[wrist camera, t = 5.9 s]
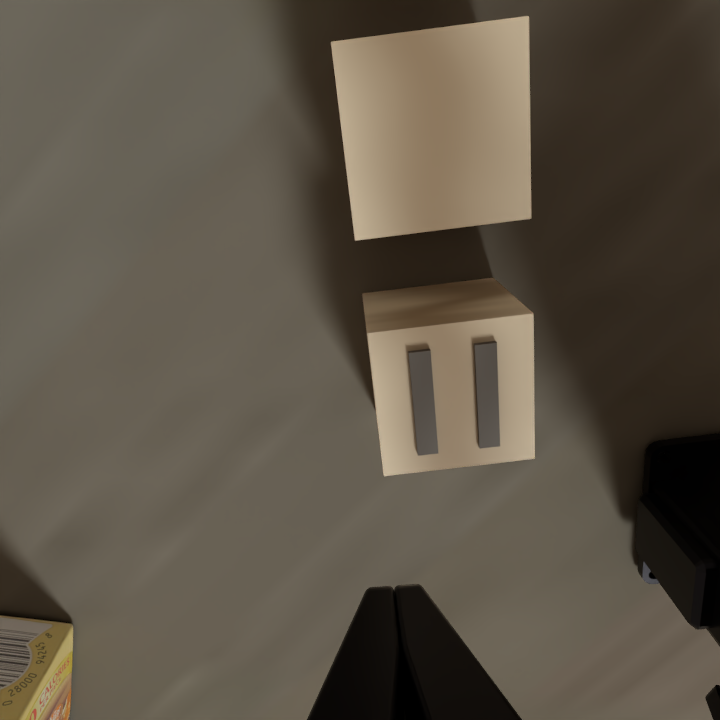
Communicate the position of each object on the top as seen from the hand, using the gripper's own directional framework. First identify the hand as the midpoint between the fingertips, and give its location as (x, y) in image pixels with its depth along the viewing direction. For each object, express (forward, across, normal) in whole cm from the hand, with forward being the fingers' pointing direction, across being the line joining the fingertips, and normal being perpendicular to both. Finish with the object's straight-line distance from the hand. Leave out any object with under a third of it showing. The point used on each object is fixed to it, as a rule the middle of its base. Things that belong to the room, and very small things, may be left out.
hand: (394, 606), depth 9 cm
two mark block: (+12, -2, 0) cm, 12 cm away
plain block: (+12, -2, -7) cm, 14 cm away
